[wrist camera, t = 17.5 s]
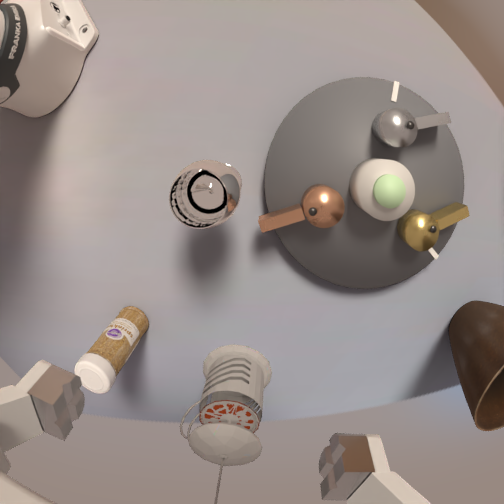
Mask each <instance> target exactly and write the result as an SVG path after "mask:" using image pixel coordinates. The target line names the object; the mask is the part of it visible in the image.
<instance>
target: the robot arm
mask: <svg viewBox="0 0 504 504" xmlns="http://www.w3.org/2000/svg"><path fill="white" fill-rule="evenodd" d="M2 1H3V0H0V106H1V107H5V108H9V109H12V110H14V111H17V112H19V113H21V114H23V115H25V116H28V117H41V116H44V115H46V114H48V113H50V112H51V111H53V110H54V109H56V108H57V107H58V106H59V105H60V104H61V103H62V102H63V101H64V100H65V99H66V98H67V96H68V95H69V94H70V92H71V91H72V89H73V87H74V86H75V84H76V82H77V80H78V78H79V75H80V73H81V70H82V67H83V63H84V60H85V57H86V55H87V53H88V52H89V51H90V49H91V48H92V46H93V45H94V43H95V42H96V40H97V38H98V30H97V28H96V27H95V25H94V23H93V21H92V19H91V17H90V16H89V14H88V12H87V10H86V8H85V6H84V5H83V3H82V1H81V0H9V1H8V2H7V3H5V4H1V2H2ZM87 29H88V30H87ZM86 30H87V32H85V31H86ZM81 385H82V382H81V377H79V376H77V375H75V374H73V373H71V372H68V371H66V370H64V369H62V368H60V367H57V366H55V365H53V364H51V363H48V362H46V361H44V360H40V361H38V362H37V363H36V364H35V365H34V366H33V367H32V368H31V370H30V371H29V372H28V373H27V374H26V375H25V376H24V377H23V378H22V379H21V380H20V382H19V383H18V384H17V385H16V386H13V385H10V386H6V387H3V388H0V504H57V503H55V502H53V501H51V500H49V499H47V498H45V497H43V496H41V495H40V494H38V493H36V492H34V491H33V490H31V489H29V488H27V487H26V486H24V485H22V484H21V483H19V482H18V481H16V480H14V479H13V478H11V477H10V476H8V475H7V473H8V471H9V469H10V467H11V464H10V462H9V460H8V459H7V457H6V455H5V454H4V452H6V451H8V450H10V449H12V448H14V447H16V446H18V445H20V444H22V443H24V442H26V441H28V440H30V439H32V438H34V437H36V436H38V435H40V434H41V433H43V431H44V432H46V433H48V434H50V435H53V436H55V437H57V438H59V439H61V440H64V441H65V439H66V437H67V436H68V434H69V432H70V431H71V430H72V428H73V426H72V421H74V420H76V419H78V418H79V416H80V415H81V413H82V411H83V408H84V400H85V399H84V394H83V392H82V391H81V390H80V387H81ZM329 441H330V445H329V446H327V447H325V448H324V450H323V452H322V453H321V457H320V460H319V473H320V474H321V476H323V478H324V480H323V481H322V483H321V484H320V485H321V494H322V500H347V501H346V502H347V503H348V504H431V503H430V502H429V501H427V500H426V499H425V498H424V497H423V496H422V495H421V494H419V493H418V492H417V491H416V490H415V489H414V488H412V487H411V486H410V485H409V484H408V483H407V482H406V481H404V480H403V479H402V478H401V477H400V476H399V475H398V474H397V473H395V472H391V471H390V468H389V464H388V461H387V458H386V454H385V451H384V448H383V445H382V441H381V438H380V436H379V435H376V434H344V433H335V434H333V435H332V437H331V438H330V440H329Z"/></svg>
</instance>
